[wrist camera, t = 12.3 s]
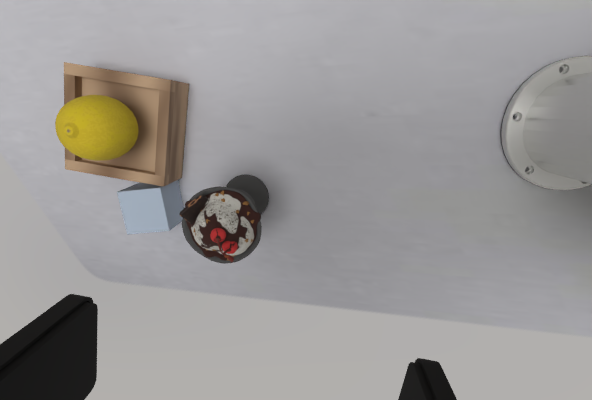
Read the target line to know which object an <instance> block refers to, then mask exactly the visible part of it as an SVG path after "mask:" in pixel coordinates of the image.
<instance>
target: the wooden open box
mask: <svg viewBox="0 0 592 400" xmlns="http://www.w3.org/2000/svg"><path fill="white" fill-rule="evenodd" d="M188 91H189V84H187V83H182V82H178V81H173V80H167V79H161V78H155V77H149V76H143V75H137V74H131V73H125V72H119V71H113V70H107V69H101V68H95V67H89V66H83V65H77V64H71V63H65V62H64V105H65V104H66V103H68V102H69V101H71V100H73V99H75V98H78V97H81V96H87V95H103V96H108V97H111V98H114V99H116V100H119V101H120V102H122V103H123V104H125V105H126V106H127V107H128V108H129V109H130V110H131V111H132V112H133V114H134V116H135V117H136V120H137V123H138V131H139V132H138V138H137V140H136V143H135V145H134V146H133V147H132V148H131V149H130V150H129V151H128V152H127V153H125V154H124V155H122V156H121V157H118V158H115V159H111V160H102V161H95V160H89V159H85V158H81V157H79V156H77V155H75V154H73V153H71V152H70V151H69V150H68V149H66V148H65V169H67V170H73V171H78V172H84V173H90V174H96V175H101V176H107V177H113V178H118V179H124V180H130V181H135V182H141V183H147V184H153V185H158V186H166V185H168V184H170V183H172V182H174V181H176V180H178V179H180V178H182V168H183V155H184V143H185V130H186V117H187V104H188Z"/></svg>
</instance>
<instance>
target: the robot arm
mask: <svg viewBox="0 0 592 400" xmlns="http://www.w3.org/2000/svg"><path fill="white" fill-rule="evenodd" d="M559 68H560V71H559ZM513 115H515V117H514V119H513ZM501 136H502V146H503V150H504V154H505V156H506V158H507V160H508V162H509V164H510V165H511V167H512V168H513V169H514V170H515V172H516V173H517V174H519V175H520V176H521V177H522V178H524V179H525V180H527V181H529V182H531V183H533V184H535V185H538V186H541V187H544V188H547V189H553V190H573V189H579V188H583V187H586V186H589V185H592V56H580V57H573V58H568V59H564V60H560V61H557V62H555V63H553V64H550V65H548V66H546V67H544V68H543V69H541V70H539V71H538V72H536V73H535V74H533V75H532V76H531V77H530V78H529V79H528V80H527V81H525V82H524V83H523V84H522V86H521V87H520V88H519V89H518V91H517V92H516V93H515V94H514V96H513V98H512V99H511V101H510V103H509V105H508V107H507V110H506V112H505V115H504V118H503V124H502V130H501ZM526 167H527V169H526ZM525 169H526V170H525ZM96 373H97V305H96V304H94V303H93V300H92V298H90V297H85V296H80V295H74V294H70V295H68V296H66V297H65V298H63V299H62V300H61V301H59V302H58V303H56V304H55V305H54V306H52V307H51V308H50V309H48V310H47V311H46V312H44V313H43V314H41V315H40V316H39V317H37V318H36V319H35V320H33V321H32V322H31V323H29V324H28V325H27V326H25V327H24V328H22V329H21V330H20V331H18V332H17V333H15V334H14V335H13V336H11V337H10V338H9V339H7V340H6V341H4V342H3V343H2V344H0V400H84V399H85V398H86V397H87V396H88V394H89V393H90V392H91V390H92V389H93V387H94V385H95V382H96ZM398 400H457V399H456V397H455V395H454V393H453V391H452V388H451V386H450V384H449V382H448V380H447V378H446V376H445V374H444V372H443V369H442V368H441V365H440V364H439V362H436V361H431V360H426V359H420V358H418V359H417V360H416V361H415V363H413V362H411V363H410V364H409V366H408V369H407V372H406V376H405V379H404V383H403V386H402V389H401V393H400V396H399V399H398Z"/></svg>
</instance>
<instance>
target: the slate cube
mask: <svg viewBox="0 0 592 400" xmlns="http://www.w3.org/2000/svg"><path fill="white" fill-rule="evenodd" d="M117 194H118V198H119V202H120V206H121V210H122V214H123V218H124V223H125V227H126V231H127V234H138V233H150V232H161V231H170V230H171V229H172V228H173V227H175V226H176V225H177V224H178V223H180V222H181V221H182V219H183V218H182V217H181V216H180V215H179V214H180V212H181V211H182V210H183V209H184V207H183V202H182V197H181V192H180V187H179V182H178V180H176V181H174V182H172V183H170V184H168V185H166V186H158V185H153V184H147V183H138V184H136V185H133V186H131V187H128V188H126V189H123V190H121V191H118V192H117Z"/></svg>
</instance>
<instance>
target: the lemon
mask: <svg viewBox="0 0 592 400" xmlns="http://www.w3.org/2000/svg"><path fill="white" fill-rule="evenodd" d="M55 124H56V132H57V136H58V138H59V140H60V142H61V143H62V144H63V146H64V147H65V148H66V149H68V150H69V151H70V152H71V153H73V154H75V155H77V156H79V157H81V158H85V159H89V160H95V161H102V160H111V159H115V158H118V157H121V156H122V155H124V154H125V153H127V152H128V151H129V150H130V149H131V148H132V147H133V146H134V145H135V143H136V140H137V138H138V132H139V131H138V123H137V120H136V117H135V116H134V114H133V112H132V111H131V110H130V109H129V108H128V107H127V106H126V105H125V104H123V103H122V102H120V101H119V100H116V99H114V98H111V97H108V96H103V95H87V96H81V97H78V98H75V99H73V100H71V101H69V102H68V103H66V104H65V105H64V106H63V107H62V108H61V109H60V111H59V113H58V115H57V118H56V122H55Z"/></svg>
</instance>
